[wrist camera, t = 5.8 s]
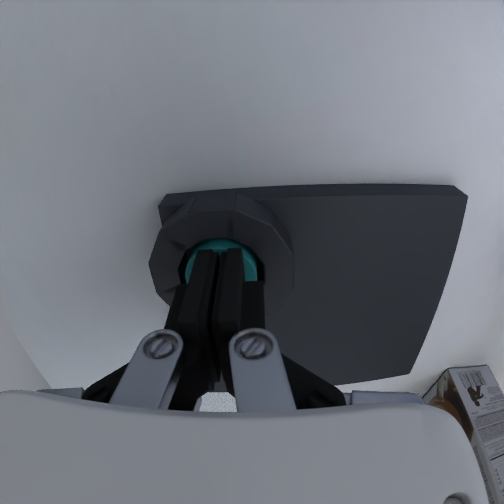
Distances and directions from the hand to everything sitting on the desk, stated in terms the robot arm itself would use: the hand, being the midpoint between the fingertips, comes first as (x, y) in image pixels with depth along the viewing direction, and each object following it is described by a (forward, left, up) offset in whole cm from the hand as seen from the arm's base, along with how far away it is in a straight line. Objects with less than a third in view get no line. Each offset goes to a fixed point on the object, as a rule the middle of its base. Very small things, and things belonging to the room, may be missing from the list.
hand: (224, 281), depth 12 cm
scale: (+4, -4, -3) cm, 7 cm away
